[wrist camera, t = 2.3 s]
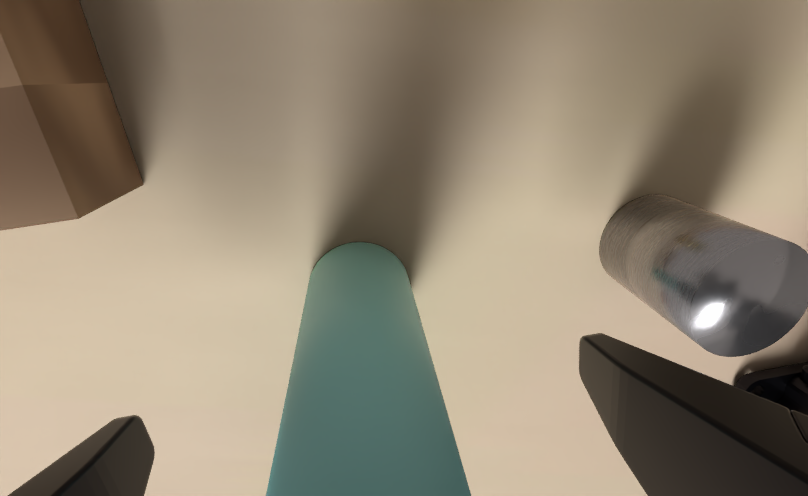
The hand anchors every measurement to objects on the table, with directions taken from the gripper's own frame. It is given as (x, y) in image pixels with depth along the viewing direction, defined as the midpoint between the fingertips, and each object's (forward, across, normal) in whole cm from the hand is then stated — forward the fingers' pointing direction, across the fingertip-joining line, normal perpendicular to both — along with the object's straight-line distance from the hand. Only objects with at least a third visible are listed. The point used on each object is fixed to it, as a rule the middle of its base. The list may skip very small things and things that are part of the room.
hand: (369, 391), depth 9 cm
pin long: (+5, 0, 0) cm, 5 cm away
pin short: (+5, -9, 0) cm, 10 cm away
